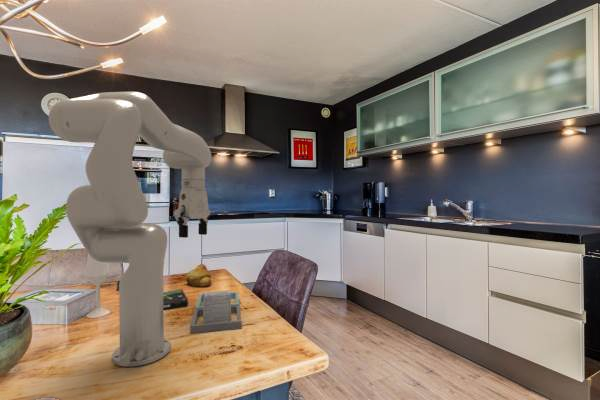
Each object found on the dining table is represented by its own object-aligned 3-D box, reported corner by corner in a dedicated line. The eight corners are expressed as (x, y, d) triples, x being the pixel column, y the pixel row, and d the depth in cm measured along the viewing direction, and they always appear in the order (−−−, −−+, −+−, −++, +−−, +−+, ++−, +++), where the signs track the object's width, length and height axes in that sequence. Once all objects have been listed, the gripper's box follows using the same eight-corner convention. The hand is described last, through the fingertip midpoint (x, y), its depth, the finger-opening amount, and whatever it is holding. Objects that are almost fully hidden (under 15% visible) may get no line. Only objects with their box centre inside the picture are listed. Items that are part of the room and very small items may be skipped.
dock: (241, 328, 90) (241, 321, 90) (190, 333, 87) (190, 326, 86) (237, 297, 118) (237, 291, 118) (199, 300, 115) (199, 294, 115)
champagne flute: (107, 316, 100) (106, 241, 99) (82, 318, 98) (81, 242, 97) (112, 309, 106) (112, 238, 106) (89, 311, 104) (89, 239, 104)
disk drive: (188, 308, 108) (182, 295, 121) (188, 300, 108) (182, 288, 121) (156, 313, 103) (153, 300, 116) (156, 305, 103) (153, 292, 116)
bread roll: (215, 286, 134) (215, 267, 134) (193, 290, 128) (193, 270, 128) (204, 279, 144) (204, 262, 144) (183, 283, 138) (183, 265, 138)
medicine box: (229, 317, 98) (228, 289, 98) (231, 322, 94) (231, 293, 94) (203, 320, 96) (202, 292, 96) (204, 326, 91) (203, 297, 91)
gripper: (184, 183, 97) (184, 239, 97) (217, 186, 113) (218, 233, 113) (165, 184, 99) (165, 238, 99) (200, 187, 116) (201, 233, 115)
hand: (193, 235), depth 106 cm, fingers open, 9 cm apart
